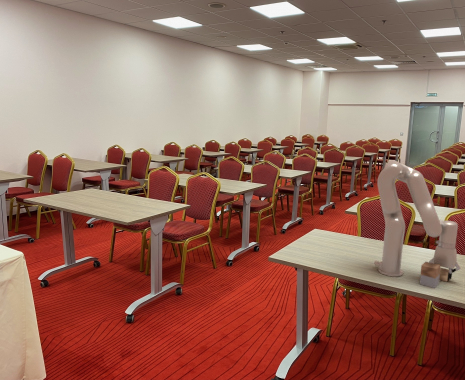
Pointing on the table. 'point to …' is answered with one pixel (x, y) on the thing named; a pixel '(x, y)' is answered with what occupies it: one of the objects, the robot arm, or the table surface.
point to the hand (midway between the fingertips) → (442, 277)
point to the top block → (430, 270)
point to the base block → (429, 281)
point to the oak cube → (443, 274)
